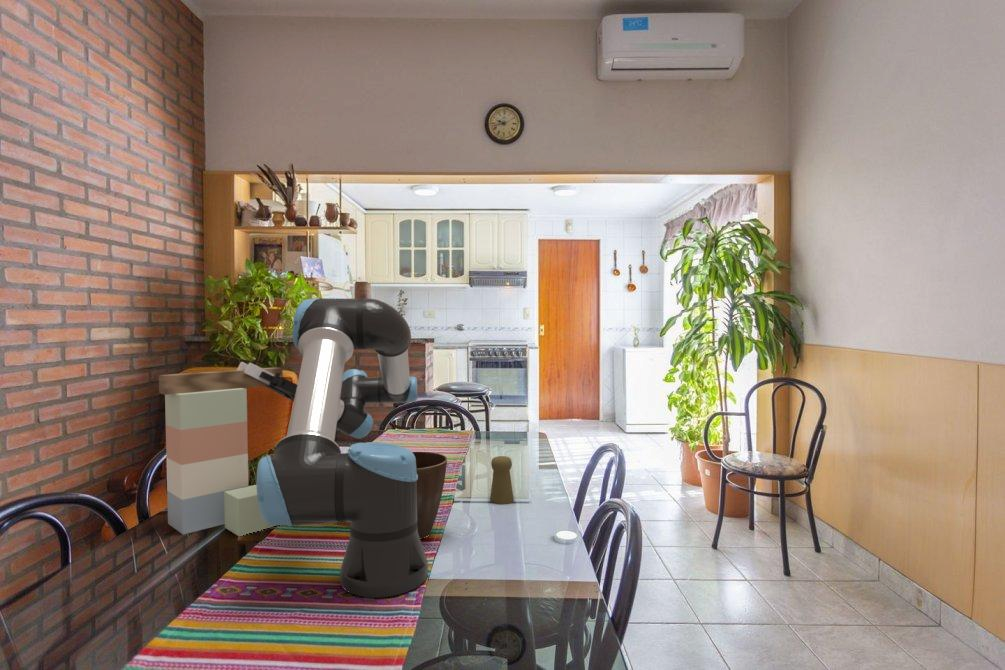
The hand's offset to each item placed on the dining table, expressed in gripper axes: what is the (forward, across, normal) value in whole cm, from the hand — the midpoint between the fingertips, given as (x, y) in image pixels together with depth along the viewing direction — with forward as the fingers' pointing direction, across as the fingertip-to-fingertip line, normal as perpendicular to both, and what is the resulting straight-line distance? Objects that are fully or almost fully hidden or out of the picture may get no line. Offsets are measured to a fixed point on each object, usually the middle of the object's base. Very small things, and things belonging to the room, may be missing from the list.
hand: (243, 367), depth 135 cm
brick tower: (-10, 0, -34) cm, 36 cm away
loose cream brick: (-16, -11, -31) cm, 37 cm away
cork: (-58, -40, -7) cm, 71 cm away
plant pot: (-33, -42, -21) cm, 57 cm away
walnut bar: (+1, 0, -6) cm, 6 cm away
